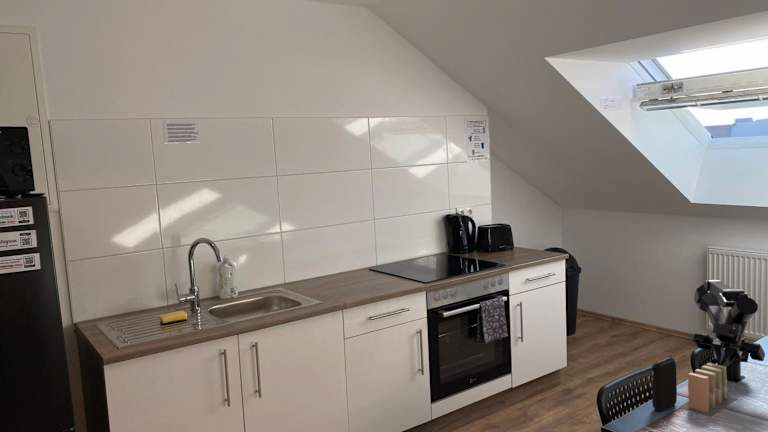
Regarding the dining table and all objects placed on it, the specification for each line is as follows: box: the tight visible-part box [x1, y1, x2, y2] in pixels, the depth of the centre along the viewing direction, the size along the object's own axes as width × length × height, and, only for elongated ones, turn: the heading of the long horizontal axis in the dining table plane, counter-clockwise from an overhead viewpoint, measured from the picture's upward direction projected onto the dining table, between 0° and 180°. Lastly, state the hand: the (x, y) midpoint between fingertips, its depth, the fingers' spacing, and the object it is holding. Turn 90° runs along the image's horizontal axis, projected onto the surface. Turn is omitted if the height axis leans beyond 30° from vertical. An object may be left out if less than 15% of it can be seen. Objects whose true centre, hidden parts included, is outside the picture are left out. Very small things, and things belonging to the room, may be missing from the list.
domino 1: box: [687, 372, 709, 413], centre depth 171 cm, size 2×5×10 cm, turn 37°
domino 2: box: [694, 368, 716, 408], centre depth 173 cm, size 2×5×10 cm, turn 37°
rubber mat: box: [679, 395, 738, 417], centre depth 175 cm, size 17×9×1 cm, turn 127°
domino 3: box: [700, 365, 722, 404], centre depth 175 cm, size 2×5×10 cm, turn 37°
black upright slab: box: [650, 357, 678, 412], centre depth 173 cm, size 11×3×15 cm, turn 123°
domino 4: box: [705, 362, 729, 400], centre depth 177 cm, size 2×5×10 cm, turn 37°
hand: (719, 370), depth 177 cm, fingers closed
